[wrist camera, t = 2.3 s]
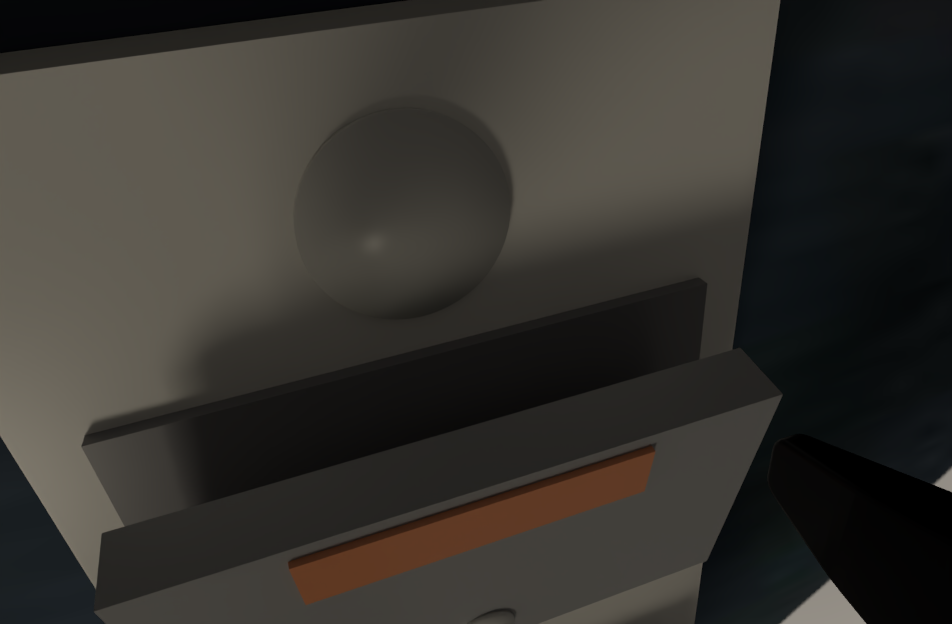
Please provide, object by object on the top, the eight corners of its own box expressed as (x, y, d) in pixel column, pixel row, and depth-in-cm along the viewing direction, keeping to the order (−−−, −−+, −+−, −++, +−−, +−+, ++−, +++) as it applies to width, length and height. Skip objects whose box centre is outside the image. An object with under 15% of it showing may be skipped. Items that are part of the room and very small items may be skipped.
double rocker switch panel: (631, 726, 29) (674, 808, 26) (317, 861, 25) (327, 970, 23) (681, -36, 13) (797, -32, 10) (-98, 66, 10) (-223, 108, 7)
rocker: (678, 517, 16) (709, 565, 15) (220, 678, 13) (223, 747, 13) (739, 348, 12) (787, 399, 11) (101, 533, 9) (93, 619, 8)
